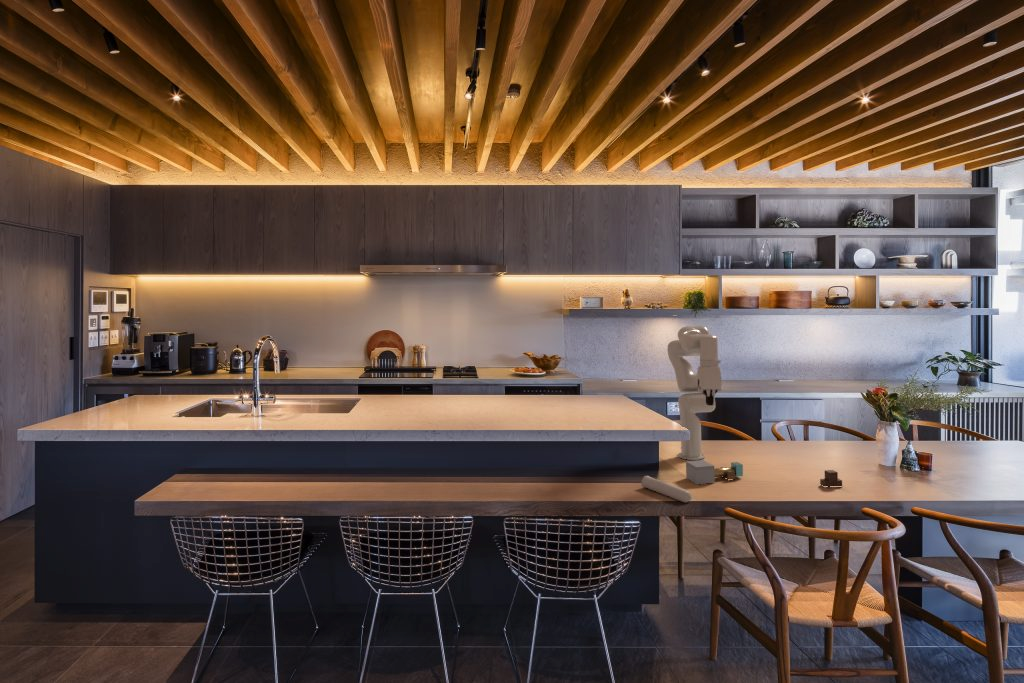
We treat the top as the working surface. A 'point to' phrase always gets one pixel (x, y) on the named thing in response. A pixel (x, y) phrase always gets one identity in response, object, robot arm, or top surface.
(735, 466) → the bronze piece
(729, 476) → the guide block
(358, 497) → the top surface
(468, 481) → the top surface
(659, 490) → the tube
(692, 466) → the socket block
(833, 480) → the wooden blocks
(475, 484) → the top surface
